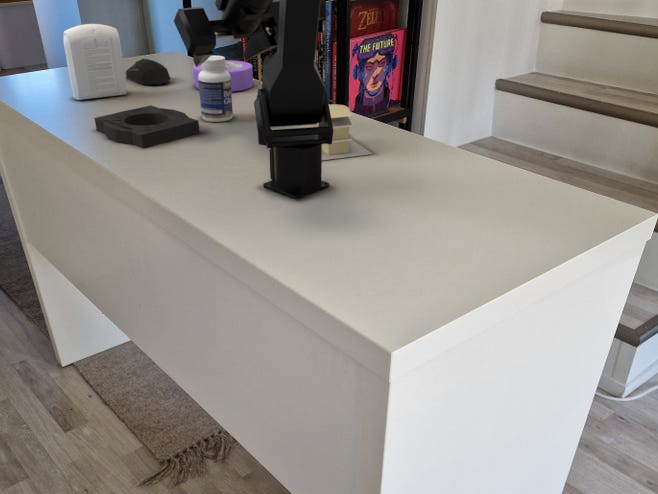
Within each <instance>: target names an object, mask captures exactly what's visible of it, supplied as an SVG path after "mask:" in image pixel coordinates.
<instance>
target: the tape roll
mask: <svg viewBox="0 0 658 494" xmlns="http://www.w3.org/2000/svg"><path fill="white" fill-rule="evenodd" d="M225 63H226V65H225V66H226V67H225V68H224V69H225V70H226V71H228V72H229V74H230V78H231V93H233V92H240V91H245V90H248V89H251V88H252V87H254V73H253V72H254V69H253V64H252V63H249V62H246V61H241V60H233V59H232V60H231V59H230V60H229V59H228V60H227V59H225ZM192 67H193V69H192V70H193V79H194V80H193V81H194V87H195V88H196V89H197V90H199V80H198V75H199V73H200V72H201V71H203V68H202V65H200V66H199V67H196V66H195V64H194V65H193V66H192Z"/></svg>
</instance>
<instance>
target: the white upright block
mask: <svg viewBox="0 0 658 494" xmlns="http://www.w3.org/2000/svg"><path fill="white" fill-rule="evenodd" d="M62 35H63V36H62V37H63V49H64V53H65V59H66V60H65V61H66V64H67V70H68V77H69V81H70V87H71V93H72V97H73V99H74V100H77V101H82V100H90V99H98V98H108V97H115V96H117V97H118V96H127V94H128V88H127V81H126V80H127V79H126V71H125V66H124V65H125V64H124V58H123V52H122V51H123V50H122V45H121V38H120V34H119V31H118V29H117V28H116V27H114V26H110V25H107V24H100V23H84V24H80V25H76V26H73V27H70V28H68V29H66V30H64V31H63V34H62Z"/></svg>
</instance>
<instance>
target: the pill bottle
mask: <svg viewBox="0 0 658 494" xmlns="http://www.w3.org/2000/svg"><path fill="white" fill-rule="evenodd" d="M225 60H226V57H225V56H223V55H211V56H210V57H209V58H208V59H207V60H206V61H205V62H204V63H203V64H202V68H203V71H201V72H200V73H199V75H198V80H199V89H198V90H199V101H200V102H199V104H200V114H201V119H202V120H204V121H206V122H209V123H210V122H211V123H220V122H221V123H222V122H228V121H230V120H231V119H232V118H233V117H234V116H233V112H234V111H233V96H232V94H233V93H232V92H231V78H230V74H229V72H228V71H226V70H225V69H224V68H225V67H226V66H225V65H226V63H225Z"/></svg>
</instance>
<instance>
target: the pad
mask: <svg viewBox="0 0 658 494" xmlns="http://www.w3.org/2000/svg"><path fill="white" fill-rule="evenodd" d="M94 123H95V130H96V131H97V132H99V133H102V134H105V136H106V138H107V139H108V140H111V141H113V142H116V143H119V144H120V143H122V144H127V145H134V146H137V147H139V148H141V149H144V148H149V147H151V146H155V145H160V144H163V143H169V142H172V141H176V140H180V139H181V138H186V137H189V136H193V135H196V134H200V133H201V132H200V122H199V119H197V118H196V119H195V118H192V117H189V116H188V115H187V114H186V112H184V111H183V112H182V111H180V110H177V109H172V108H171V109H170V108H164V107H157V106H154V105H151V104H150V105H146V106H142V107H137V108H132V109H126V110H123V111H117V112H115V113H110V114H106V115H101V116H97V117H94Z"/></svg>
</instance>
